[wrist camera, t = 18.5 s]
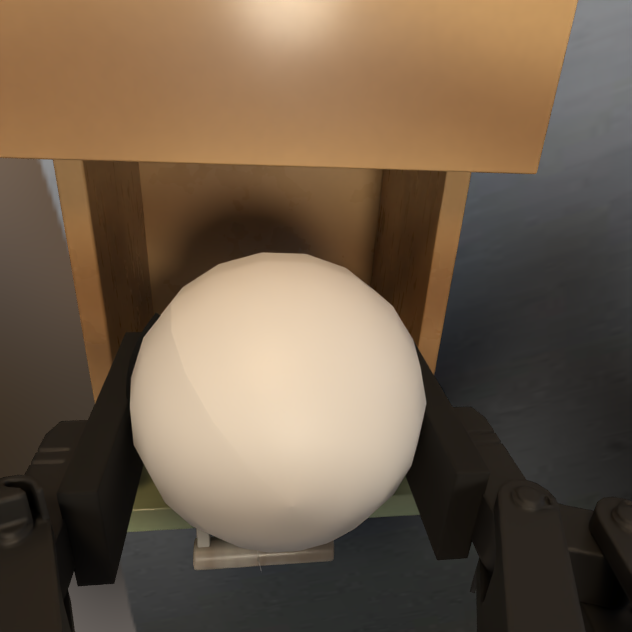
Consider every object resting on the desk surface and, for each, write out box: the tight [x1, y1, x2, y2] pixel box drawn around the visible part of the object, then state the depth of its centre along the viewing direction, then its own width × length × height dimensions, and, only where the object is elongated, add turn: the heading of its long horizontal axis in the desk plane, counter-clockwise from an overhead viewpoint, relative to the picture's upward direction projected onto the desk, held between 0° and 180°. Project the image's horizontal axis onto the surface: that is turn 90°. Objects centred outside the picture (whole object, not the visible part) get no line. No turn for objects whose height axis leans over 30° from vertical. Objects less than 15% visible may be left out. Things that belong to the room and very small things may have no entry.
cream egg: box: [126, 252, 426, 569], centre depth 14 cm, size 10×7×7 cm
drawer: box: [53, 159, 471, 570], centre depth 23 cm, size 23×14×9 cm, turn 177°
